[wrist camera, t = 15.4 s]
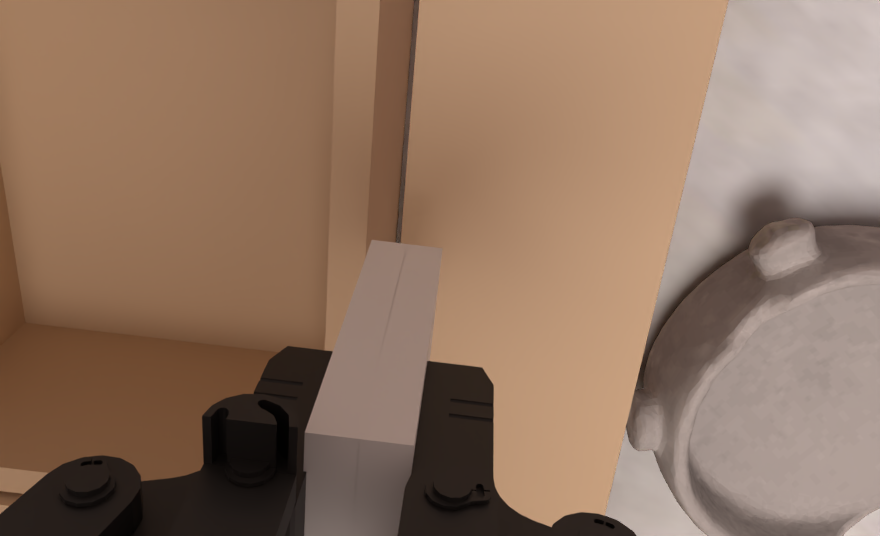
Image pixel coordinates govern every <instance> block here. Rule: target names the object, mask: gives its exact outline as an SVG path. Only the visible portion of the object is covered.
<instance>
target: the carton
mask: <svg viewBox="0 0 880 536" xmlns="http://www.w3.org/2000/svg"><path fill="white" fill-rule="evenodd" d="M413 10H414V0H0V514H1V513H2V512H3V511H4V510H5V509H6V508H8V507H9V506H10V505H11V504H12V503H13V502H15V501H16V500H17V499H18V498H19V497H21V496H22V495H23V494H24V493H25V492H26V491H28V490H29V489H30V488H31V487H32V486H33V485H35V484H36V483H37V482H38V481H39V480H40V479H42V478H43V477H44V476H45V475H46V474H48V473H49V472H51V471H52V470H54V469H56V468H57V467H59V466H60V465H62V464H64V463H67V462H70V461H73V460H76V459H79V458H82V457H90V456H100V455H104V456H111V457H117V458H121V459H123V460H125V461H127V462H129V463H131V464H133V465H134V466H135V468H136V469H137V471H138V472H139V474H140V475H141V481H148V480H157V479H167V478H174V477H179V476H185V475H188V474H191V473H194V472H197V471H200V470H201V468H202V466H203V464H204V462H203V433H202V415H203V414H204V413H205V412H206V411H207V410H208V409H209V408H210V407H211V405H213V404H215V403H217V402H219V401H221V400H223V399H225V398H228V397H232V396H237V395H241V394H254V390H255V388H256V386H257V384H258V382H259V381H260V378H261V375H262V373H263V371H264V369H265V367H266V365H267V363H268V361H269V359H271V358H272V357H273V356H275V355H276V354H277V353H279V352H280V351H281V350H283V349H284V348H286V347H287V346H293V347H301V348H309V349H318V350H326V351H333V350H334V347H335V344H336V341H337V338H338V335H339V333H340V330H341V327H342V324H343V321H344V318H345V315H346V312H347V310H348V307H349V304H350V301H351V298H352V295H353V292H354V290H355V287H356V284H357V281H358V278H359V275H360V272H361V269H362V267H363V264H364V261H365V258H366V255H367V252H368V249H369V246H370V244H371V241H372V240H378V241H386V242H394V243H396V237H397V224H398V211H399V197H400V184H401V170H402V157H403V144H404V130H405V117H406V104H407V90H408V77H409V64H410V50H411V37H412V24H413Z"/></svg>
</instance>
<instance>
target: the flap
mask: <svg viewBox="0 0 880 536" xmlns="http://www.w3.org/2000/svg"><path fill="white" fill-rule="evenodd" d="M727 5H728V0H419V12H418V25H417V38H416V51H415V64H414V77H413V90H412V102H411V115H410V128H409V141H408V154H407V167H406V180H405V193H404V205H403V218H402V231H401V243H403V244H411V245H420V246H428V247H436V248H443V249H442V258H441V267H440V275H439V284H438V293H437V302H436V311H435V319H434V328H433V337H432V346H431V354H430V361H433V362H442V363H450V364H458V365H466V366H475V367H482V368H483V369H484V371H485V372H486V374H487V376H488V377H489V379H490V380H491V382H492V383H493V385H494V405H493V407H494V419H493V423H494V456H493V478H494V484H495V488H496V490H497V492H498V493H499V495H500V497H501V498H502V499H503V500H504V501H505V503H506V504H507V505H508V506H509V507H511V508H512V509H514V510H515V511H516V512H518V513H519V514H521V515H523V516H525V517H527V518H529V519H531V520H534V521H536V522H539V523H542V524H544V525H547V526H550V527H552V525H553V524H554V523H555V522H556V521H558V520H559V519H561V518H562V517H563V516H565V515H570V514H574V513H579V512H586V513H596V514H601V515H604V516H605V512H606V507H607V503H608V499H609V495H610V491H611V487H612V482H613V478H614V474H615V470H616V466H617V462H618V458H619V453H620V449H621V445H622V441H623V437H624V433H625V428H626V424H627V420H628V416H629V412H630V408H631V404H632V399H633V395H634V391H635V387H636V383H637V379H638V374H639V370H640V366H641V362H642V358H643V354H644V350H645V345H646V341H647V337H648V333H649V329H650V325H651V320H652V316H653V312H654V308H655V304H656V300H657V296H658V291H659V287H660V283H661V279H662V275H663V271H664V266H665V262H666V258H667V254H668V250H669V246H670V241H671V237H672V233H673V229H674V225H675V221H676V217H677V212H678V208H679V204H680V200H681V196H682V192H683V187H684V183H685V179H686V175H687V171H688V167H689V163H690V158H691V154H692V150H693V146H694V142H695V138H696V133H697V129H698V125H699V121H700V117H701V113H702V109H703V104H704V100H705V96H706V92H707V88H708V84H709V79H710V75H711V71H712V67H713V63H714V59H715V54H716V50H717V46H718V42H719V38H720V34H721V30H722V25H723V21H724V17H725V13H726V9H727Z"/></svg>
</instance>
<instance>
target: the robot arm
mask: <svg viewBox="0 0 880 536" xmlns="http://www.w3.org/2000/svg"><path fill="white" fill-rule="evenodd" d="M442 249H443V248H436V247H428V246H420V245H411V244H403V243H394V242H386V241H378V240H372V241H371V244H370V246H369V249H368V252H367V255H366V258H365V261H364V264H363V267H362V269H361V272H360V275H359V278H358V281H357V284H356V287H355V290H354V292H353V295H352V298H351V301H350V304H349V307H348V310H347V312H346V315H345V318H344V321H343V324H342V327H341V330H340V333H339V335H338V338H337V341H336V344H335V347H334V350H333V351H326V350H318V349H309V348H301V347H293V346H287V347H286V348H284V349H283V350H281V351H280V352H279V353H277V354H276V355H275V356H273V357H272V358H271V359H269V361H268V363H267V365H266V367H265V369H264V371H263V373H262V375H261V378H260V381H259V382H258V384H257V386H256V388H255V390H254V394H241V395H237V396H232V397H228V398H225V399H223V400H221V401H219V402H217V403H215V404H213V405H211V407H210V408H209V409H208V410H207V411H206V412H205V413H204V414H203V415H202V433H203V462H204V464H203V466H202V468H201V470H200V471H197V472H194V473H191V474H188V475H185V476H179V477H174V478H167V479H157V480H148V481H141V475H140V474H139V472H138V471H137V469H136V468H135V466H134V465H133V464H131V463H129V462H127V461H125V460H123V459H121V458H117V457H111V456H104V455H100V456H90V457H82V458H79V459H76V460H73V461H70V462H67V463H64V464H62V465H60V466H59V467H57V468H56V469H54V470H52V471H51V472H49V473H48V474H46V475H45V476H44V477H43V478H42V479H40V480H39V481H38V482H37V483H36V484H35V485H33V486H32V487H31V488H30V489H29V490H28V491H26V492H25V493H24V494H23V495H22V496H21V497H19V498H18V499H17V500H16V501H15V502H13V503H12V504H11V505H10V506H9V507H8V508H6V509H5V510H4V511H3V512H2V513H1V514H0V536H636V534H635V533H634V532H633V531H632V530H630V529H629V528H628V527H626V526H625V525H623V524H622V523H620V522H619V521H617V520H615V519H612V518H609V517H607V516H604V515H601V514H596V513H586V512H579V513H574V514H570V515H565V516H563V517H562V518H561V519H559V520H558V521H556V522H555V523H554V524H553V525H552V527H550V526H547V525H544V524H542V523H539V522H536V521H534V520H531V519H529V518H527V517H525V516H523V515H521V514H519V513H518V512H516V511H515V510H514V509H512V508H511V507H509V506H508V505H507V504H506V503H505V501H504V500H503V499H502V498H501V497H500V495H499V493H498V492H497V490H496V488H495V484H494V478H493V456H494V423H493V419H494V407H493V405H494V385H493V383H492V382H491V380H490V379H489V377H488V376H487V374H486V372H485V371H484V369H483V368H482V367H475V366H466V365H458V364H450V363H442V362H433V361H430V354H431V346H432V337H433V328H434V319H435V311H436V302H437V293H438V284H439V275H440V267H441V258H442Z"/></svg>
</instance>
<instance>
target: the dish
mask: <svg viewBox="0 0 880 536" xmlns="http://www.w3.org/2000/svg"><path fill="white" fill-rule="evenodd" d="M626 429H627V434H628V438H629V441H630V444H631V445H632V446H633V448H634V449H636V450H638V451H647V450H653V451H654V454H655V457H656V460H657V463H658V466H659V468H660V471H661V473H662V475H663V477H664V479H665V481H666V483H667V484H668V486H669V488H670V490H671V492H672V494H673V495H674V497H675V499H676V500H677V502H678V503H679V505H680V506H681V508H682V509H683V510H684V511H685V513H686V514H687V515H688V516H689V518H690V519H691V520H692V521H693V523H694V524H695V525H696V526H697V527H698V528H699V529H700V530H701V531H703V532H704V533H705V534H706V535H707V536H843V535H844V534H845V532H847V531H848V530H849V529H850V528H851V527H852V526H854V525H855V524H856V523H857V522H859V521H860V520H861V519H863V518H864V517H865V516H867V515H868V514H870V513H872V512H873V511H875V510H877V509H879V508H880V227H872V226H860V225H833V226H818V227H814V226H813V225H812V223H811V222H810V221H808V220H805V219H801V218H789V219H786V220H782V221H777V222H771V223H769V224H767V225H765V226H764V227H763V228H762V229H761V230H760V231H759V232H757V234H756V235H755V236H754V237H753V238H752V239H751V242H750V245H749V249H747V250H745V251H743V252H742V253H740V254H739V255H737V256H736V257H734V258H733V259H731V260H730V261H728V262H727V263H725V264H724V265H722V266H721V267H720V268H718V269H717V270H716V271H714V272H713V273H712V274H711V275H710V276H708V277H707V278H706V279H705V280H704V281H703V282H701V283H700V284H699V285H698V286H697V287H696V288H695V289H694V290H693V291H692V292H691V293H690V294H689V295H688V296H687V297H686V298H685V299H684V300H683V301H682V302H681V303H680V305H679V306H678V307H677V309H676V310H675V311H674V313H673V314H672V315H671V317H670V318H669V319H668V321H667V322H666V323H665V325H664V326H663V328H662V329H661V331H660V333H659V335H658V336H657V338H656V340H655V342H654V344H653V346H652V349H651V351H650V354H649V357H648V360H647V364H646V368H645V372H644V389H638V390H635V391H634V395H633V399H632V404H631V408H630V412H629V416H628V420H627V424H626Z"/></svg>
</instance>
